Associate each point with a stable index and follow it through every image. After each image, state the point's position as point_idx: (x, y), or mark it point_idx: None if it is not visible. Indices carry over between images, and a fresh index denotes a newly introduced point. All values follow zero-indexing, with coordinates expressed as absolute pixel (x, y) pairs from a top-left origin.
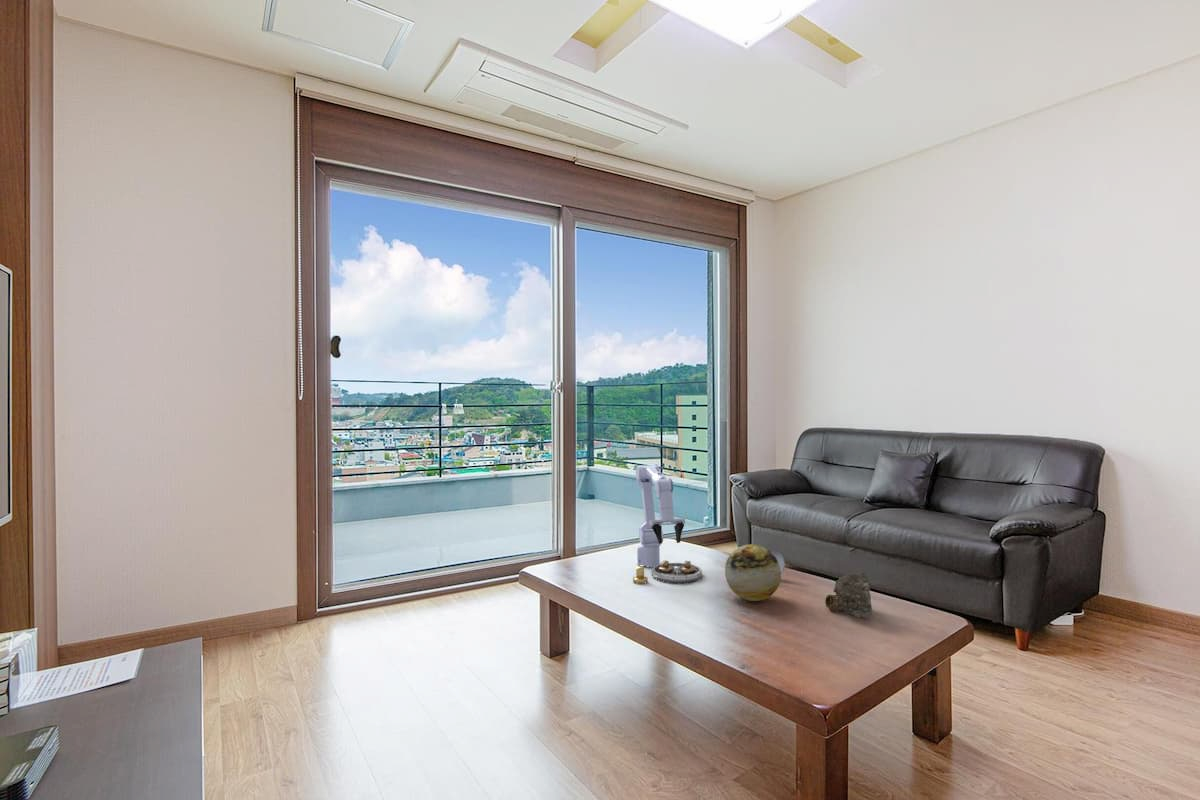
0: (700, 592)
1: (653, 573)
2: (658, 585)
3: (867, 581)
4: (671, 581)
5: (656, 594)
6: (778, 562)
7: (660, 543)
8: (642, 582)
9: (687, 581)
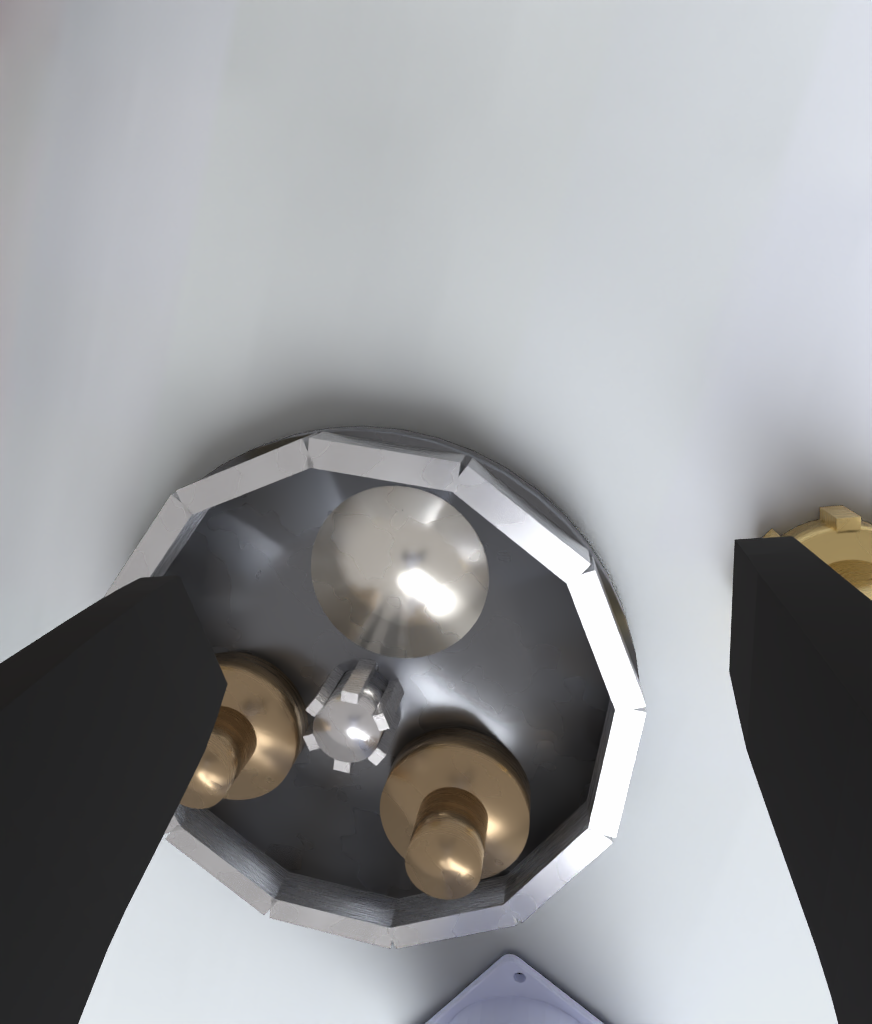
0: (263, 62)
1: (642, 694)
2: (662, 415)
3: None
4: (490, 464)
5: (810, 60)
6: None
7: (801, 543)
8: (843, 509)
9: (317, 431)
